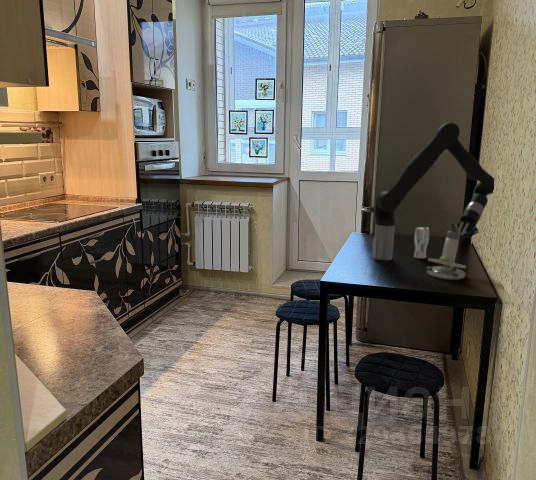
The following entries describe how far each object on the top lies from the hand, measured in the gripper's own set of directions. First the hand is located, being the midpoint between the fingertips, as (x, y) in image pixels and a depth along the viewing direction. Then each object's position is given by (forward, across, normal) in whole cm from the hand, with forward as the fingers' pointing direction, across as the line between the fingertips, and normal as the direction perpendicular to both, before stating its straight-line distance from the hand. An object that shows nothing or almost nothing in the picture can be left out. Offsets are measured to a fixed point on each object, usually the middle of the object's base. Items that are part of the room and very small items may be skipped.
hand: (456, 243), depth 213 cm
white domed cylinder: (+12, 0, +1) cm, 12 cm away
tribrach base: (+15, 0, +4) cm, 15 cm away
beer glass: (+2, -24, +17) cm, 29 cm away
